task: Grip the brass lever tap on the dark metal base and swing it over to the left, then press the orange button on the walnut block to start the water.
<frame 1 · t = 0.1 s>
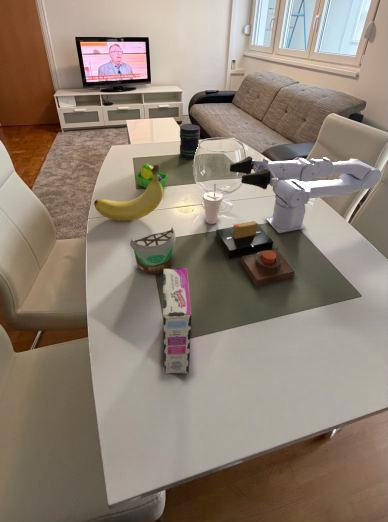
hand: (236, 173, 84), 22 cm above the table, tool horizontal, fingers open, 7 cm apart
storage jar: (189, 155, 151), on the table
banana: (130, 218, 101), on the table
tap lever: (244, 229, 88), point 5 cm above the table, hinge at 0.0°
food container: (157, 269, 80), on the table
start button: (268, 257, 79), point 4 cm above the table, slide at 0.1 cm
fruit basket: (151, 187, 121), on the table
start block: (266, 269, 81), on the table
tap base: (243, 243, 91), on the table
candy bar box: (176, 347, 61), on the table
smoothie: (211, 221, 101), on the table
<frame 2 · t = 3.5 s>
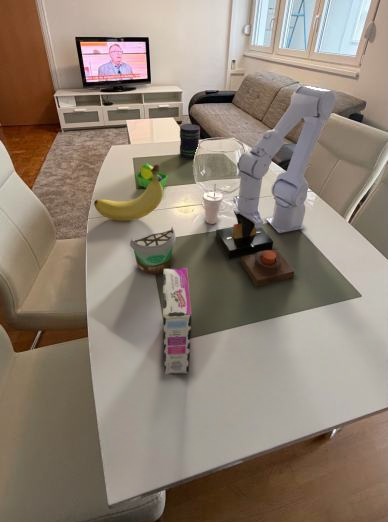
hand: (244, 234, 89), 4 cm above the table, tool pointing down, fingers closed on tap lever, 2 cm apart
tap lever: (244, 229, 88), point 5 cm above the table, hinge at -0.1°, touching gripper
everything else where it was.
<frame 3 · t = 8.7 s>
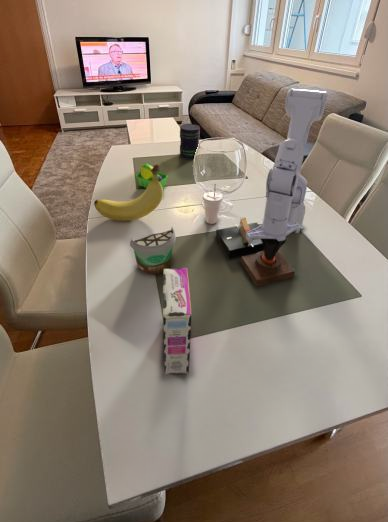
hand: (268, 257, 79), 4 cm above the table, tool pointing down, fingers closed, pressing on start button
tap lever: (244, 229, 88), point 5 cm above the table, hinge at 75.1°
start button: (268, 259, 79), point 4 cm above the table, slide at -0.8 cm, touching gripper
everything else where it was.
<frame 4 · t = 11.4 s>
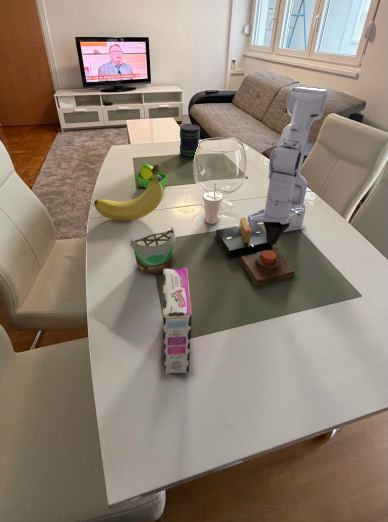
hand: (271, 242, 76), 9 cm above the table, tool pointing down, fingers closed
start button: (268, 257, 79), point 4 cm above the table, slide at 0.1 cm
everything else where it was.
at the end: tap lever at +75° (first picture: +0°); start button pushed in 1.2 cm at the most during the clip, back to where it started at the end; start button slide at 0.1 cm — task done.
